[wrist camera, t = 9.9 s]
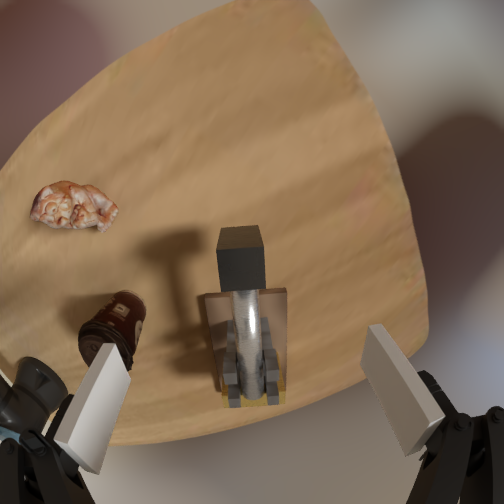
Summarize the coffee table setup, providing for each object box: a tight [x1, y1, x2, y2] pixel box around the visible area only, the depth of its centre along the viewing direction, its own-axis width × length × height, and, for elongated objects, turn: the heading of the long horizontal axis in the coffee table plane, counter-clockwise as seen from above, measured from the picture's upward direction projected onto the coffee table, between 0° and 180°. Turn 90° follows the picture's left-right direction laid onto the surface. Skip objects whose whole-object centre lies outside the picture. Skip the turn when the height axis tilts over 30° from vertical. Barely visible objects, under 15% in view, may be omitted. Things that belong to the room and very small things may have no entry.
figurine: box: [30, 181, 118, 233], centre depth 28 cm, size 6×8×15 cm
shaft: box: [216, 225, 266, 400], centre depth 30 cm, size 4×22×7 cm, turn 3°
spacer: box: [222, 352, 285, 408], centre depth 40 cm, size 9×3×9 cm, turn 94°
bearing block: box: [204, 288, 287, 408], centre depth 38 cm, size 12×22×13 cm, turn 4°
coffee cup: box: [78, 290, 146, 372], centre depth 35 cm, size 9×8×13 cm
